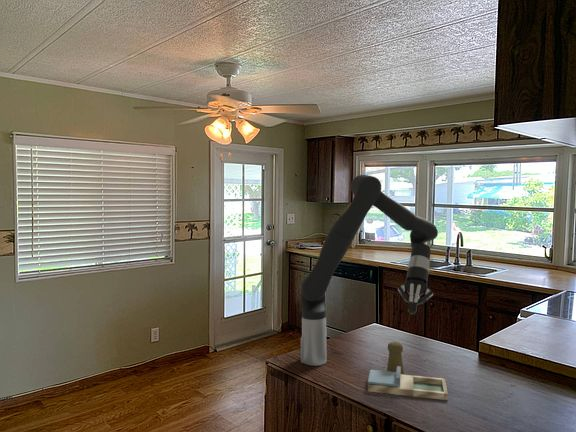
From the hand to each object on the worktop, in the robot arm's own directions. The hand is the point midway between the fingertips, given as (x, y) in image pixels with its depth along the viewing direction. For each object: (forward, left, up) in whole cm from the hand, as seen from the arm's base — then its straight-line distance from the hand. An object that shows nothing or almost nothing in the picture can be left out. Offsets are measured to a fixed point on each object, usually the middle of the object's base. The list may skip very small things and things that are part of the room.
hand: (411, 313), depth 149 cm
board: (-2, -14, -21) cm, 25 cm away
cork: (-6, -4, -21) cm, 22 cm away
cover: (-9, -14, -18) cm, 25 cm away
